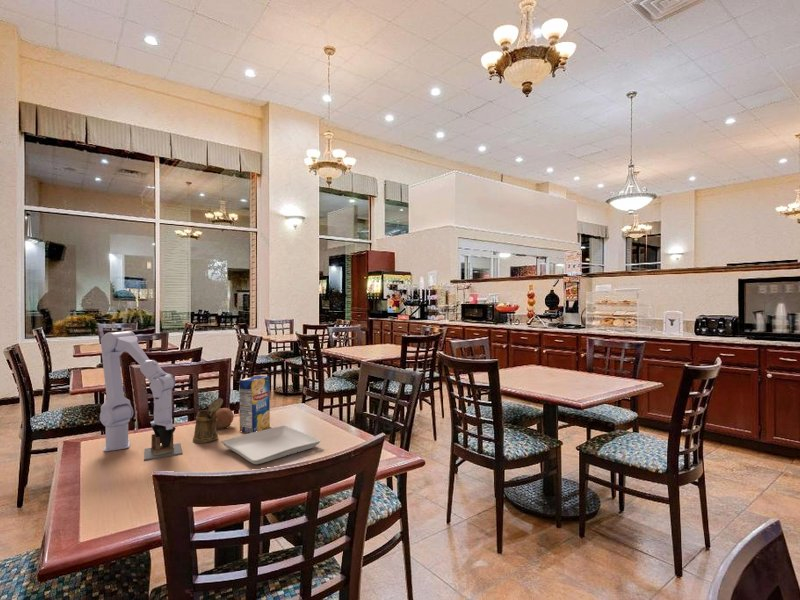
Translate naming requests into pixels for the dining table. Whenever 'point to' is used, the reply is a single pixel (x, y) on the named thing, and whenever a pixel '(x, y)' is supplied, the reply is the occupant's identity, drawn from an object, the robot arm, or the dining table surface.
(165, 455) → the mat
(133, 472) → the dining table surface
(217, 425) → the onion
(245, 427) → the blue yellow food box
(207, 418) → the wooden mug
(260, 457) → the square plate
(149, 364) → the robot arm
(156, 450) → the stool
